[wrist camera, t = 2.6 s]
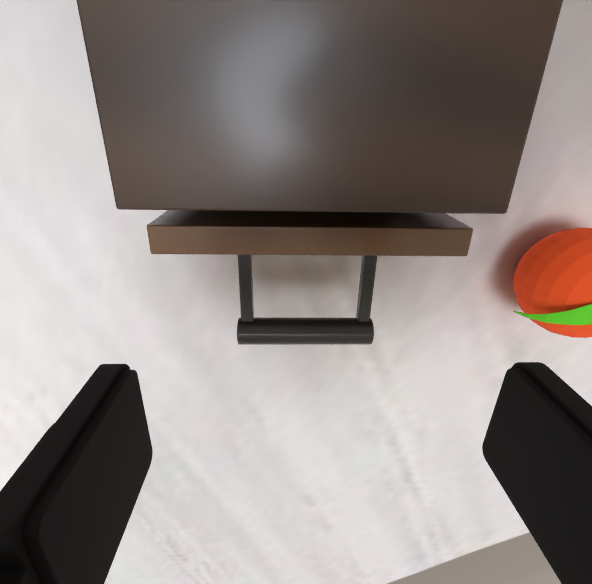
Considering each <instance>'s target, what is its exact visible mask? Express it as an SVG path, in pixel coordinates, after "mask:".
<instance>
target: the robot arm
mask: <svg viewBox="0 0 592 584" xmlns="http://www.w3.org/2000/svg"><path fill="white" fill-rule="evenodd" d="M482 448H483V455H484V457H485V459H486V461H487V463H488V465H489V466H490V468H491V469H492V471H493V473H494V474H495V476H496V478H497V479H498V481H499V482H500V484H501V486H502V487H503V489H504V491H505V492H506V494H507V495H508V497H509V499H510V500H511V502H512V504H513V505H514V507H515V508H516V510H517V512H518V513H519V515H520V517H521V518H522V520H523V521H524V523H525V525H526V526H527V528H528V530H529V531H530V533H531V534H532V536H533V538H534V539H535V541H536V543H537V544H538V546H539V547H540V549H541V551H542V552H543V554H544V556H545V557H546V559H547V560H548V562H549V564H550V565H551V567H552V569H553V570H554V572H555V573H556V575H557V577H558V578H559V580H560V581H561V583H562V584H592V406H591V405H590V404H589V403H587V402H586V401H585V400H584V399H583V398H582V397H581V396H580V395H579V394H577V393H576V392H575V391H574V390H573V389H572V388H571V387H570V386H569V385H567V384H566V383H565V382H564V381H563V380H562V379H561V378H560V377H558V376H557V375H556V374H555V373H554V372H553V371H552V370H551V369H550V368H548V367H547V366H546V365H545V364H543V363H539V362H519V363H515V364H514V365H513V367H512V368H511V369H508V370H507V372H506V374H505V377H504V381H503V384H502V387H501V390H500V393H499V396H498V399H497V402H496V405H495V408H494V411H493V414H492V417H491V420H490V424H489V427H488V430H487V433H486V436H485V439H484V442H483V446H482ZM151 460H152V445H151V440H150V435H149V430H148V425H147V420H146V415H145V410H144V405H143V400H142V395H141V390H140V385H139V380H138V375H137V372H136V371H135V370H130V367H129V366H128V365H127V364H102V365H100V366H99V367H98V368H97V369H96V371H95V372H94V373H93V375H92V376H91V377H90V378H89V380H88V381H87V382H86V384H85V385H84V386H83V388H82V389H81V390H80V392H79V393H78V394H77V395H76V397H75V398H74V399H73V401H72V402H71V403H70V405H69V406H68V407H67V408H66V410H65V411H64V412H63V414H62V415H61V416H60V418H59V419H58V420H57V421H56V423H54V424H53V425H52V426H51V427H50V428H49V429H48V431H47V432H46V433H45V434H44V436H43V437H42V438H41V440H40V441H39V442H38V443H37V445H36V446H35V447H34V449H33V450H32V451H31V452H30V454H29V455H28V456H27V458H26V459H25V460H24V461H23V463H22V464H21V465H20V467H19V468H18V469H17V471H16V472H15V473H14V474H13V476H12V477H11V478H10V480H9V481H8V482H7V483H6V485H5V486H4V487H3V489H2V490H1V491H0V584H104V582H105V580H106V577H107V575H108V572H109V569H110V567H111V564H112V562H113V559H114V557H115V554H116V552H117V549H118V546H119V544H120V541H121V539H122V536H123V534H124V531H125V528H126V526H127V523H128V521H129V518H130V516H131V513H132V510H133V508H134V505H135V503H136V500H137V498H138V495H139V493H140V490H141V487H142V485H143V482H144V480H145V477H146V475H147V472H148V469H149V467H150V464H151Z"/></svg>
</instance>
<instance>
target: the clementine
mask: <svg viewBox="0 0 592 584" xmlns="http://www.w3.org/2000/svg"><path fill="white" fill-rule="evenodd" d="M513 288H514V291H515V295H516V298H517V302H518V304H519V306H520V307H521V309H522V310H523V311H524V313H521V312H516V311H513V312H516V313H518V314H520V315H523V316H525V317H527V318H530V319H531V320H532V321H533V322H535V323H536V324H538V325H539V326H541V327H543V328H545V329H546V330H548V331H550V332H553V333H557V334H560V335H565V336H570V337H582V338H586V337H592V228H575V229H569V230H564V231H559V232H555V233H553V234H551V235H549V236H547V237H544V238H543V239H541V240H540V241H539V242H537V243H536V244H534V245H533V246H532V247H531V248H530V249H529V250H528V251H527V252H526V253H525V254H524V255H523V257H522V258H521V260H520V262H519V263H518V265H517V268H516V271H515V274H514V282H513Z"/></svg>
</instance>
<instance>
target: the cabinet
mask: <svg viewBox="0 0 592 584" xmlns="http://www.w3.org/2000/svg"><path fill="white" fill-rule="evenodd" d="M562 2H563V0H77V5H78V10H79V15H80V20H81V26H82V31H83V36H84V41H85V46H86V51H87V57H88V62H89V67H90V72H91V77H92V82H93V88H94V93H95V98H96V103H97V108H98V114H99V119H100V124H101V129H102V134H103V139H104V145H105V150H106V155H107V160H108V165H109V171H110V176H111V181H112V186H113V191H114V196H115V202H116V207H117V209H129V210H217V211H305V212H393V213H481V214H504V213H506V212H507V209H508V205H509V201H510V198H511V194H512V190H513V186H514V183H515V179H516V175H517V171H518V168H519V164H520V160H521V156H522V153H523V149H524V145H525V141H526V138H527V134H528V130H529V126H530V123H531V119H532V115H533V111H534V108H535V104H536V100H537V96H538V93H539V89H540V85H541V81H542V77H543V74H544V70H545V66H546V62H547V59H548V55H549V51H550V47H551V44H552V40H553V36H554V32H555V29H556V25H557V21H558V17H559V14H560V10H561V6H562Z"/></svg>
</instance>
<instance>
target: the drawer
mask: <svg viewBox="0 0 592 584" xmlns="http://www.w3.org/2000/svg"><path fill="white" fill-rule="evenodd" d="M147 231H148V237H149V244H150V250H151V253H152V254H237V255H238V267H239V286H240V305H241V318H239V319H238V325H237V340H238V344H372V342H373V337H374V327H373V322H372V319H371V318H370V312H371V303H372V295H373V287H374V278H375V270H376V262H377V256H467V254H468V250H469V245H470V241H471V237H472V233H473V229H472V228H471V227H469V226H467V225H465V224H463V223H461V222H460V221H458V220H456V219H454V218H452V217H451V216H449V215H447V214H445V213H393V212H305V211H217V210H168V211H166V212H165V213H164V214H162V215H161V216H159V217H158V218H157V219H155V220H154V221H153V222H151V223H150V224H148V225H147ZM252 255H363V256H362V266H361V275H360V285H359V295H358V305H357V315H356V317H357V318H254V307H253V280H252Z"/></svg>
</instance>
